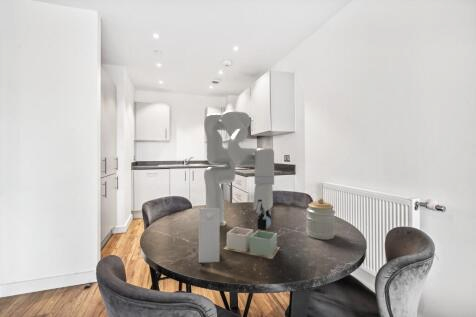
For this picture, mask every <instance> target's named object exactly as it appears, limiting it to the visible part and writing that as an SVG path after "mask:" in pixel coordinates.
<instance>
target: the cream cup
mask: <svg viewBox="0 0 476 317" xmlns="http://www.w3.org/2000/svg"><path fill="white" fill-rule="evenodd" d="M240 233H241V234H244V235H240ZM253 234H254V229H250V228H245V227H239V226H235V227H233V228H232V229H230V230H229V231H227V232H226V246H227V248H230V249H235V250H240V251H245V252H246V251H247V250H248V249H249V248H250V236H252V235H253Z"/></svg>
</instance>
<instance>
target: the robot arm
mask: <svg viewBox="0 0 476 317" xmlns="http://www.w3.org/2000/svg"><path fill="white" fill-rule="evenodd" d="M203 124H204V125H203V126H204V127H203V128H204V132H205V136H206V159H207V163H209V164H210V165H224V166H210V167H207V168H205V169H204V172H203V177H204V178H203V179H204V184H205V208H220V227H221V226H223V227H224V226H226V224H227V222H226V220H224V190H223V189H222V187H221V186H220V185H222V184H224V185H225V184H232V183H233V182H234V181H235V179H236V166H237V167H240V168H242V167H249V168H250V167H254V185H255V186H254V194H253V210H254V211H256V212H255V213H256V215H257V216H256V217H257V230H259V231H266V230H267V228H266V219H265V216H268V217H269V218H270V220H271V213H272V212H271V211H272V210H271V209H272V208H273V205H274V200H273V199H274V194H273V193H274V192H273V188H274V187H273V185H275V151H274V149H272V148H270V147H269V148H268V147H267V148H266V147H265V148H264V147H263V148H256V147H255V148H252V147H250V148H249V147H241V146H240V145H239V144H240V143H242V142H243V141H245V140H246V139H247V137H248V135H249V131H248V128H249V127H250V125H251V118H250V116H249V114H248V113H246V112H244V111H237V110H227V111H224V112H223V113H215V112H214V113H209V114H207V115H206V116H205V118H204V123H203ZM219 131H226V133H227V135H228V136H229V139H228V142H227V146H224V145H223V137H222V134H221V132H219ZM271 221H272V220H271Z"/></svg>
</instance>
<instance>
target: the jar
mask: <svg viewBox="0 0 476 317" xmlns="http://www.w3.org/2000/svg"><path fill="white" fill-rule="evenodd" d="M307 205H308V207H307V208H306V212H307V213H306V214H307V215H306V228H305V230H306V235H308V237H310V238H313V239H315V240H316V239H317V240H326V241H327V240H332V239H334V238H335V235H336V231H335V230H336V229H335V227H336V218H335V214H336V211H335V210H334V209H333V208H334V206H333V205H332V204H331V203H329V202H327V201H324V199H323V198H318V199H317V201H311V202H310V203H308V204H307Z"/></svg>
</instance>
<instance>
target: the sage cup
mask: <svg viewBox="0 0 476 317" xmlns="http://www.w3.org/2000/svg"><path fill="white" fill-rule="evenodd" d="M277 247H278V233H276V232H271V231H266V230H260V229H257V230H256V231H255V232H253V235H252V236H250V253H255V254H260V255H265V256H270V257H271V256H272V255H273V253H274V252H275V250H276V249H277Z"/></svg>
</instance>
